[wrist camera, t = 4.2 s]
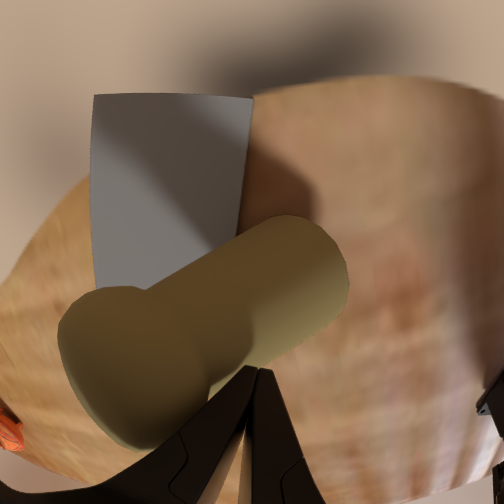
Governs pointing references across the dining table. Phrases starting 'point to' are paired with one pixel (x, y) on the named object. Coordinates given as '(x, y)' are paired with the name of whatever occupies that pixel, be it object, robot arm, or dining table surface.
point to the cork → (199, 328)
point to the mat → (163, 181)
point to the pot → (10, 434)
